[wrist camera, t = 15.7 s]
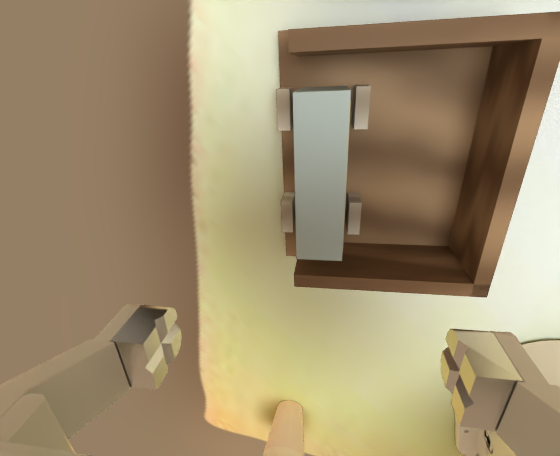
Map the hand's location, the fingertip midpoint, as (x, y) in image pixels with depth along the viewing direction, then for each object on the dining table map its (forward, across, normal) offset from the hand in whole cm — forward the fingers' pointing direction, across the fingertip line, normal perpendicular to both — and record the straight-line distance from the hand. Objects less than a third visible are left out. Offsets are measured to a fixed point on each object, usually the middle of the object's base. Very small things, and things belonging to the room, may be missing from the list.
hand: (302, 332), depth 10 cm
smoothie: (+23, +4, +37) cm, 43 cm away
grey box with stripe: (+21, 0, 0) cm, 21 cm away
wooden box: (+22, -5, 0) cm, 23 cm away
